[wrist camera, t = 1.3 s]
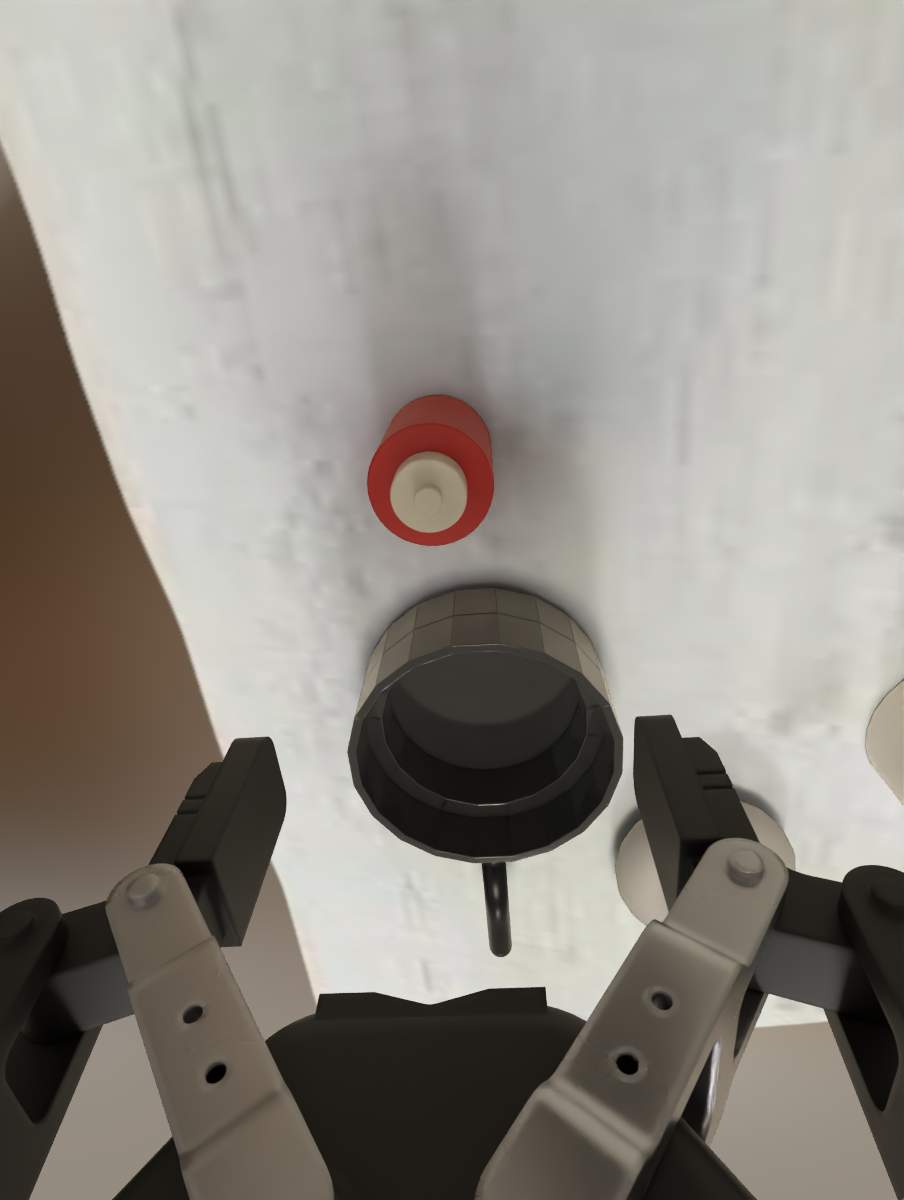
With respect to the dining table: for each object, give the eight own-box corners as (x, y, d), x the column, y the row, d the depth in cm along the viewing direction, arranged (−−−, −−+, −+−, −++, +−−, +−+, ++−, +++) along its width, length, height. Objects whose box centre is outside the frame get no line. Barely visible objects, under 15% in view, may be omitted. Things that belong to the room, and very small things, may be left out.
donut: (703, 927, 45) (820, 831, 41) (719, 977, 42) (847, 879, 38) (577, 862, 43) (686, 755, 39) (584, 910, 40) (703, 799, 36)
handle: (480, 840, 36) (480, 858, 35) (504, 839, 36) (505, 857, 34) (490, 943, 39) (490, 962, 38) (511, 942, 39) (512, 961, 38)
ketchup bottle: (378, 399, 31) (351, 439, 24) (487, 390, 31) (490, 428, 24) (391, 503, 33) (369, 567, 26) (494, 496, 33) (498, 559, 26)
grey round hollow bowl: (351, 592, 35) (328, 653, 30) (602, 575, 34) (626, 635, 29) (383, 786, 40) (368, 867, 35) (600, 775, 40) (620, 857, 34)
